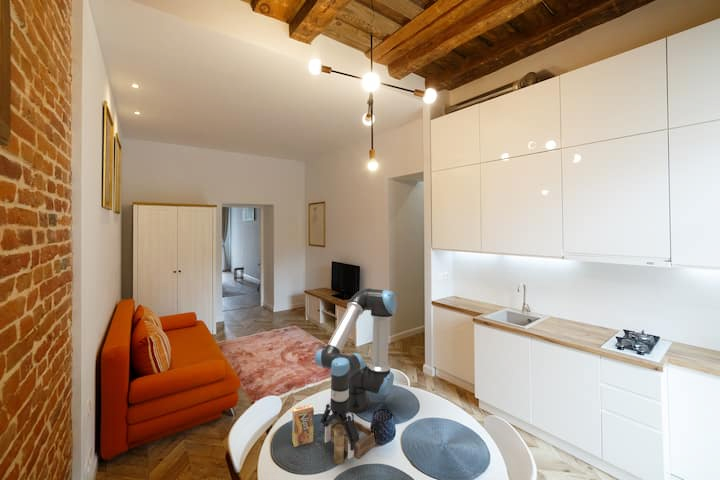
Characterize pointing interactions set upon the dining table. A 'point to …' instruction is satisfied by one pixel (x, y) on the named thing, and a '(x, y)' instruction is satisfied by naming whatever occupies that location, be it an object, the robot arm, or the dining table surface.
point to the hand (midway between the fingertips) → (338, 448)
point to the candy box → (302, 425)
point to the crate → (364, 441)
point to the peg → (338, 444)
